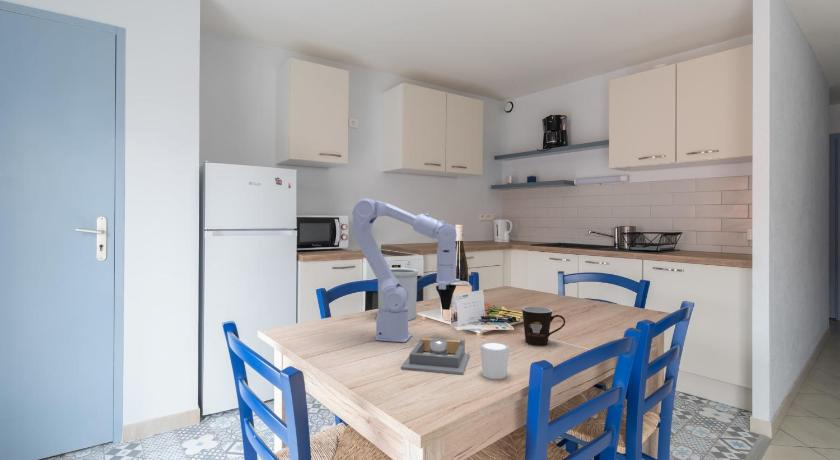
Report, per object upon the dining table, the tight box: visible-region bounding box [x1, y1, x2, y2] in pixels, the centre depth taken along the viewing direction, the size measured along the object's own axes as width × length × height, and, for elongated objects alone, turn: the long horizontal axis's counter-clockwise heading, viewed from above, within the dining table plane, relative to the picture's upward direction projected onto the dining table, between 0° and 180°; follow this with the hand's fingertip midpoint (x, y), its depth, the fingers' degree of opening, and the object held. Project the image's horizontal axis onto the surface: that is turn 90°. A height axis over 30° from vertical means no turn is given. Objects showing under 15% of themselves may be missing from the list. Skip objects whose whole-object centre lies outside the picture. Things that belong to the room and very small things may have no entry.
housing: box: [400, 340, 471, 375], centre depth 113 cm, size 15×14×3 cm
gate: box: [420, 337, 466, 355], centre depth 120 cm, size 12×1×4 cm, turn 77°
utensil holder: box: [377, 267, 419, 321], centre depth 160 cm, size 15×15×18 cm
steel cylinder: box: [429, 338, 448, 356], centre depth 115 cm, size 4×4×5 cm
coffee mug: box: [521, 305, 566, 347], centre depth 129 cm, size 12×9×10 cm
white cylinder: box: [480, 341, 510, 380], centre depth 104 cm, size 7×7×7 cm
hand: (446, 309), depth 132 cm, fingers closed
